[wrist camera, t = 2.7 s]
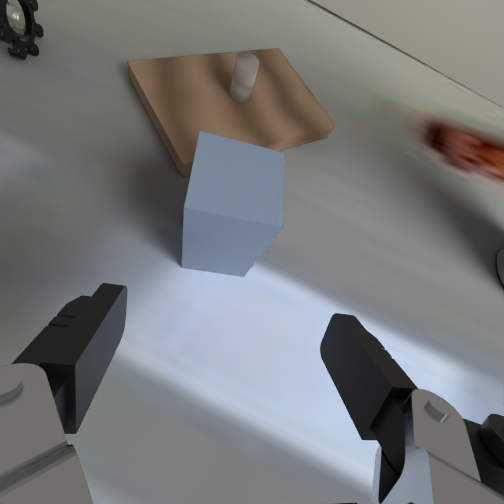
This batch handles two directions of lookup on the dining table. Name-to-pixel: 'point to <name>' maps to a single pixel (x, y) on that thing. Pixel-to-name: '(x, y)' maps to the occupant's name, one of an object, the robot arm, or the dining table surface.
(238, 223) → the block
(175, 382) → the dining table surface
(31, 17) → the valve
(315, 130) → the post plate
